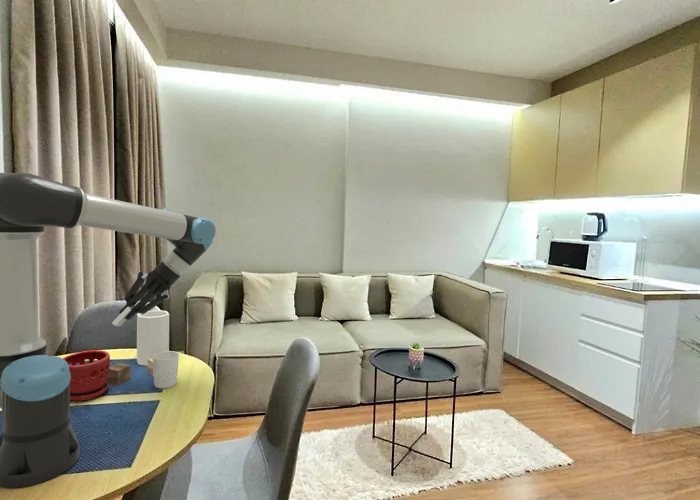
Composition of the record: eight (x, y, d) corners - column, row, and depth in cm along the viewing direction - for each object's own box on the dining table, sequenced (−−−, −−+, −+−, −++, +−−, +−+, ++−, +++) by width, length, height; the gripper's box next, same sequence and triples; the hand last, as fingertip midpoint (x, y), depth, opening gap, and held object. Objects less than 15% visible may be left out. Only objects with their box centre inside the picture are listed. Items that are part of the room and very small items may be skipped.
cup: (147, 368, 142) (147, 319, 140) (130, 361, 148) (130, 313, 146) (175, 360, 152) (175, 313, 150) (157, 353, 157) (158, 308, 156)
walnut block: (117, 385, 128) (117, 370, 128) (105, 382, 129) (105, 368, 129) (130, 379, 133) (130, 365, 132) (118, 377, 134) (118, 363, 134)
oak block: (153, 376, 136) (153, 362, 136) (147, 372, 140) (147, 358, 139) (167, 372, 140) (167, 359, 139) (161, 368, 143) (161, 355, 143)
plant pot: (87, 382, 129) (87, 347, 128) (119, 389, 125) (119, 352, 124) (47, 400, 116) (47, 361, 115) (82, 407, 113) (82, 367, 112)
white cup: (146, 386, 128) (147, 357, 127) (165, 377, 136) (165, 349, 135) (165, 391, 126) (166, 361, 125) (183, 381, 133) (184, 353, 132)
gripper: (190, 283, 129) (136, 338, 124) (162, 258, 131) (108, 312, 126) (181, 278, 122) (123, 337, 117) (152, 252, 124) (94, 309, 119)
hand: (115, 324), depth 122 cm, fingers closed
